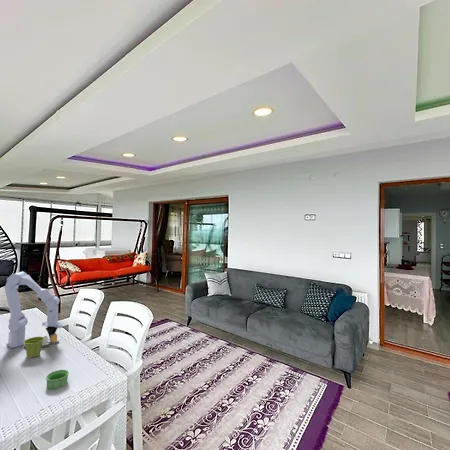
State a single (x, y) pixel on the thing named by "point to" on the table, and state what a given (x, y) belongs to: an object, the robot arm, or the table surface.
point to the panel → (47, 344)
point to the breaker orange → (54, 337)
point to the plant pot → (33, 346)
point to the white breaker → (45, 340)
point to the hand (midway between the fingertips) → (51, 338)
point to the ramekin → (57, 379)
